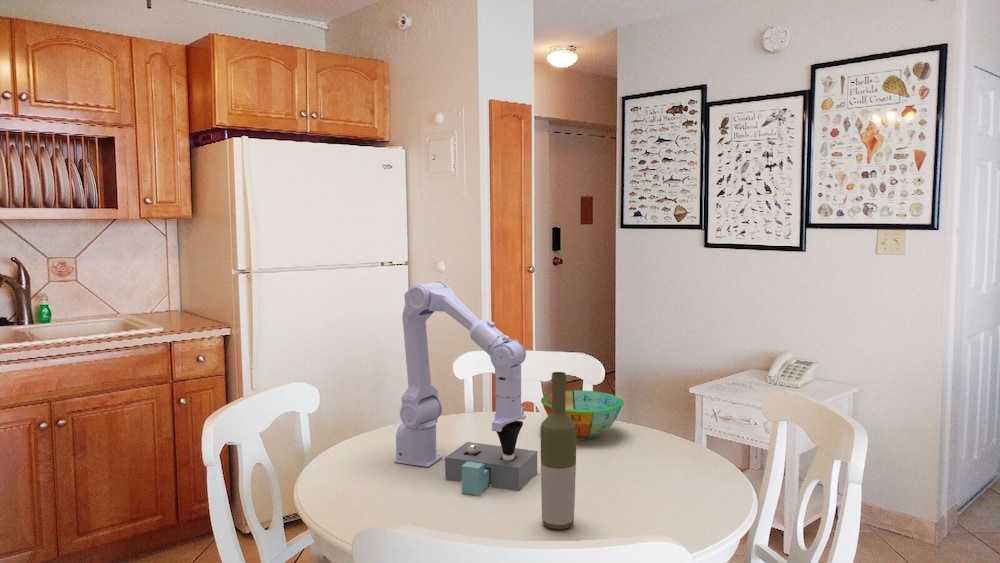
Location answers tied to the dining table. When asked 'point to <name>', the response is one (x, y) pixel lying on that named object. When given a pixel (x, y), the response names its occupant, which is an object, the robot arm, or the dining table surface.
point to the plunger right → (508, 457)
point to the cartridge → (475, 478)
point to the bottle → (558, 460)
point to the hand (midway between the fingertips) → (508, 453)
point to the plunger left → (472, 449)
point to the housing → (495, 465)
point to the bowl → (588, 411)
